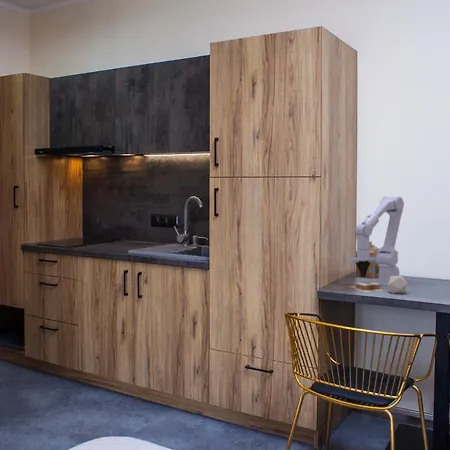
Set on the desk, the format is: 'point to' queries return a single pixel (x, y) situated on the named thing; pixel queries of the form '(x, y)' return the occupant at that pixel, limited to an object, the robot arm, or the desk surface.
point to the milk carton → (373, 268)
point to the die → (397, 284)
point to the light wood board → (367, 290)
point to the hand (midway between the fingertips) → (363, 276)
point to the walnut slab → (367, 286)
